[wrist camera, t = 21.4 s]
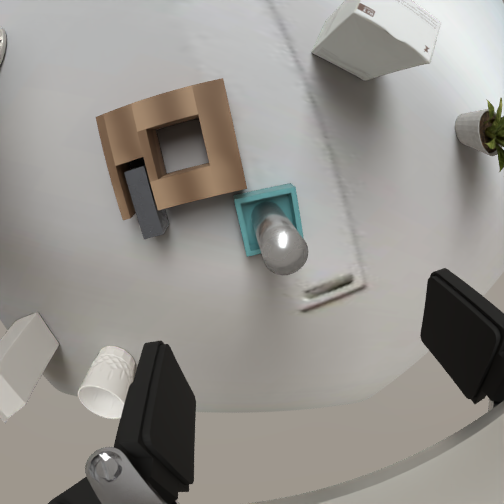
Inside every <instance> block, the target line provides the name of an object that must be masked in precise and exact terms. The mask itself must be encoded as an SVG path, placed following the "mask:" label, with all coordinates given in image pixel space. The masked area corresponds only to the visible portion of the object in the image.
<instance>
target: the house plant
mask: <svg viewBox="0 0 504 504" xmlns="http://www.w3.org/2000/svg"><path fill="white" fill-rule="evenodd" d="M486 100H487V99H486ZM487 101H488V100H487ZM501 112H502V98H501V99H500V104H499V107H498V110H497V113H495V112H494V107H493V105H492V104H491V103H490V102H489V101H488V109H485V110H480V111H475V112H470V113H465V114H461V115H459V116H458V117H457V119H456V122H455V131H456V134H457V137H458V139H459V141H460V142H461V143H462V144H464V145H466V146H469V147H471V148H474V149H476V150H478V151H481V152H483V153H485V154H487V155H490V156H495V155H497V154H498V160H499V166H500V171H501V170H502V169H503V167H504V150H503V149H502V146H503V147H504V116H503V117H501ZM500 171H499V172H500Z"/></svg>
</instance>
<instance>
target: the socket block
mask: <svg viewBox="0 0 504 504" xmlns="http://www.w3.org/2000/svg"><path fill="white" fill-rule="evenodd" d="M197 118H199V120H200V125H201V129H202V133H203V138H204V142H205V146H206V151H207V155H208V159H209V163H206V164H202V165H198V166H194V167H190V168H186V169H182V170H179V171H175V172H171V173H168V174H167V173H166V169H165V165H164V161H163V157H162V153H161V149H160V145H159V140H158V136H157V132H156V130H157V129H161V128H164V127H167V126H171V125H175V124H178V123H182V122H186V121H189V120H193V119H197ZM96 121H97V125H98V130H99V134H100V139H101V143H102V147H103V151H104V155H105V159H106V163H107V167H108V171H109V175H110V178H111V182H112V185H113V189H114V192H115V196H116V199H117V202H118V206H119V209H120V212H121V215H122V218H123V220H126V219H129V218H131V217H132V216H133V215H134V214H135V213H136V212H135V208H134V205H133V202H132V198H131V195H130V191H129V188H128V184H127V181H126V177H125V173H124V172H126V171H129V170H131V167H130V163H129V162H130V161H133V160H136V159H139V158H142V157H144V161H145V165H146V169H147V173H148V177H149V180H150V184H151V188H152V191H153V195H154V198H155V202H156V205H157V209H158V210H162V209H165V208H169V207H173V206H177V205H180V204H184V203H188V202H192V201H196V200H200V199H204V198H208V197H213V196H217V195H221V194H225V193H230V192H234V191H239V190H243V189H247V186H246V181H245V177H244V172H243V167H242V163H241V158H240V154H239V149H238V144H237V140H236V135H235V131H234V126H233V122H232V117H231V112H230V108H229V103H228V99H227V94H226V90H225V85H224V81H223V79H218V80H213V81H209V82H204V83H200V84H196V85H192V86H188V87H184V88H181V89H177V90H173V91H170V92H166V93H163V94H160V95H156V96H153V97H150V98H147V99H144V100H141V101H138V102H135V103H132V104H129V105H126V106H124V107H121V108H118V109H115V110H113V111H110V112H108V113H105V114H103V115H100V116H98V117H96Z"/></svg>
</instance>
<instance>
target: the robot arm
mask: <svg viewBox="0 0 504 504" xmlns="http://www.w3.org/2000/svg"><path fill="white" fill-rule="evenodd" d="M5 48H6V33H5V31H4V29H3V28H2V27H0V65H1V62H2V60H3V56H4V53H5ZM421 340H422V342H423V343H424V344H425V346H426V347H427V348H428V349H429V350H430V352H431V353H432V354H433V355H434V356H435V358H436V359H437V360H438V362H439V363H440V364H441V365H442V366H443V368H444V369H445V370H446V372H447V373H448V374H449V375H450V377H451V378H452V379H453V381H454V382H455V383H456V384H457V386H458V387H459V389H460V390H461V391H462V392H463V394H464V395H465V396H466V398H468V399H471V400H472V401H473V403H474V404H476V403H478V402H479V401H481V400H482V399H484V398H485V396H486V395H487V396H488V397H489V408H488V412H487V413H486V414H484V415H483V416H481V417H480V418H478V419H477V420H475V421H474V422H472V423H471V424H469V425H468V426H466V427H464V428H463V429H461V430H460V431H458V432H456V433H454V434H453V435H451V436H449V437H447V438H446V439H444V440H442V441H440V442H438V443H436V444H435V445H433V446H431V447H429V448H427V449H425V450H423V451H421V452H419V453H417V454H415V455H413V456H411V457H408V458H406V459H404V460H402V461H399V462H397V463H395V464H393V465H390V466H388V467H385V468H383V469H381V470H378V471H376V472H373V473H370V474H367V475H365V476H361V477H359V478H356V479H353V480H350V481H347V482H343V483H340V484H337V485H334V486H331V487H327V488H323V489H320V490H316V491H312V492H308V493H303V494H300V495H295V496H290V497H285V498H280V499H274V500H268V501H262V502H255V503H248V504H504V313H502V312H501V311H500V310H499V309H498V308H496V307H495V306H494V305H493V304H492V303H490V302H489V301H488V300H487V299H485V298H484V297H483V296H482V295H481V294H479V293H478V292H477V291H475V290H474V289H473V288H472V287H470V286H469V285H468V284H466V283H465V282H464V281H463V280H461V279H460V278H459V277H457V276H456V275H455V274H453V273H452V272H451V271H449V270H448V269H446V268H444V269H441V270H438V271H435V272H433V273H432V274H431V276H430V278H429V279H428V284H427V293H426V301H425V309H424V316H423V322H422V328H421ZM195 412H196V400H195V396H194V394H193V392H192V390H191V388H190V386H189V384H188V382H187V380H186V379H185V377H184V375H183V373H182V371H181V369H180V367H179V365H178V363H177V361H176V359H175V356H174V354H173V352H172V350H171V348H170V346H169V345H168V344H164V343H163V342H162V341H156V342H149V343H145V344H144V347H143V350H142V353H141V357H140V360H139V364H138V367H137V371H136V374H135V378H134V382H132V383H131V384H130V386H129V388H128V392H127V396H126V400H125V403H124V407H123V411H122V415H121V419H120V423H119V427H118V431H117V436H116V440H115V444H114V448H113V447H105V448H101V449H99V450H96V451H95V452H94V453H93V454H91V456H90V457H89V458H88V460H87V463H86V466H85V473H86V476H87V477H85V478H84V479H82V480H81V481H79V482H78V483H77V484H75V485H74V486H72V487H71V488H69V489H68V490H66V491H65V492H63V493H62V494H60V495H59V496H57V497H55V498H54V499H53V500H51V501H50V502H49V503H48V504H180V503H179V502H177V499H178V492H188V491H189V484H192V483H193V481H194V441H195Z"/></svg>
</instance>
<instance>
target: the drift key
mask: <svg viewBox="0 0 504 504" xmlns="http://www.w3.org/2000/svg"><path fill="white" fill-rule="evenodd" d="M124 173H125V177H126V181H127V184H128V188H129V191H130V195H131V198H132V202H133V205H134V208H135V212H136V215H137V218H138V221H139V224H140V228H141V231H142V234H143V237H144V239H147V238H151V237H155V236H158V235H162V234H164V232H165V230H166V229H167V227H168V225H169V222H168V218H167V215H166V212H165V209H162V210H158V209H157V205H156V202H155V198H154V195H153V191H152V188H151V184H150V180H149V177H148V173H147V169H146V165H143V166H140V167H137V168H134V169H131V170H129V171H126V172H124Z"/></svg>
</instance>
